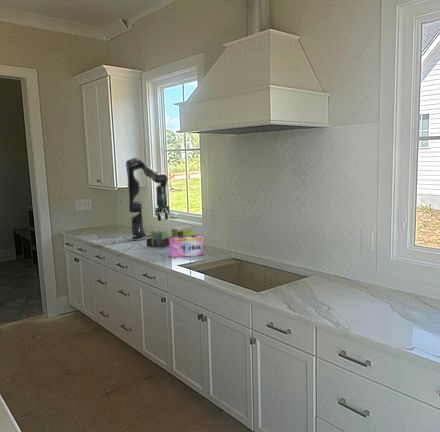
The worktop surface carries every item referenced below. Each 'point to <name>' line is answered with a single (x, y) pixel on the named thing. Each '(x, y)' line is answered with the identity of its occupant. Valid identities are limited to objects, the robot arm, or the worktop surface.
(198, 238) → the gum box
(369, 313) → the worktop surface
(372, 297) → the worktop surface
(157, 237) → the grey books
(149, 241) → the book rack
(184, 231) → the tea box
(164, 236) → the green book
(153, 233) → the green books
